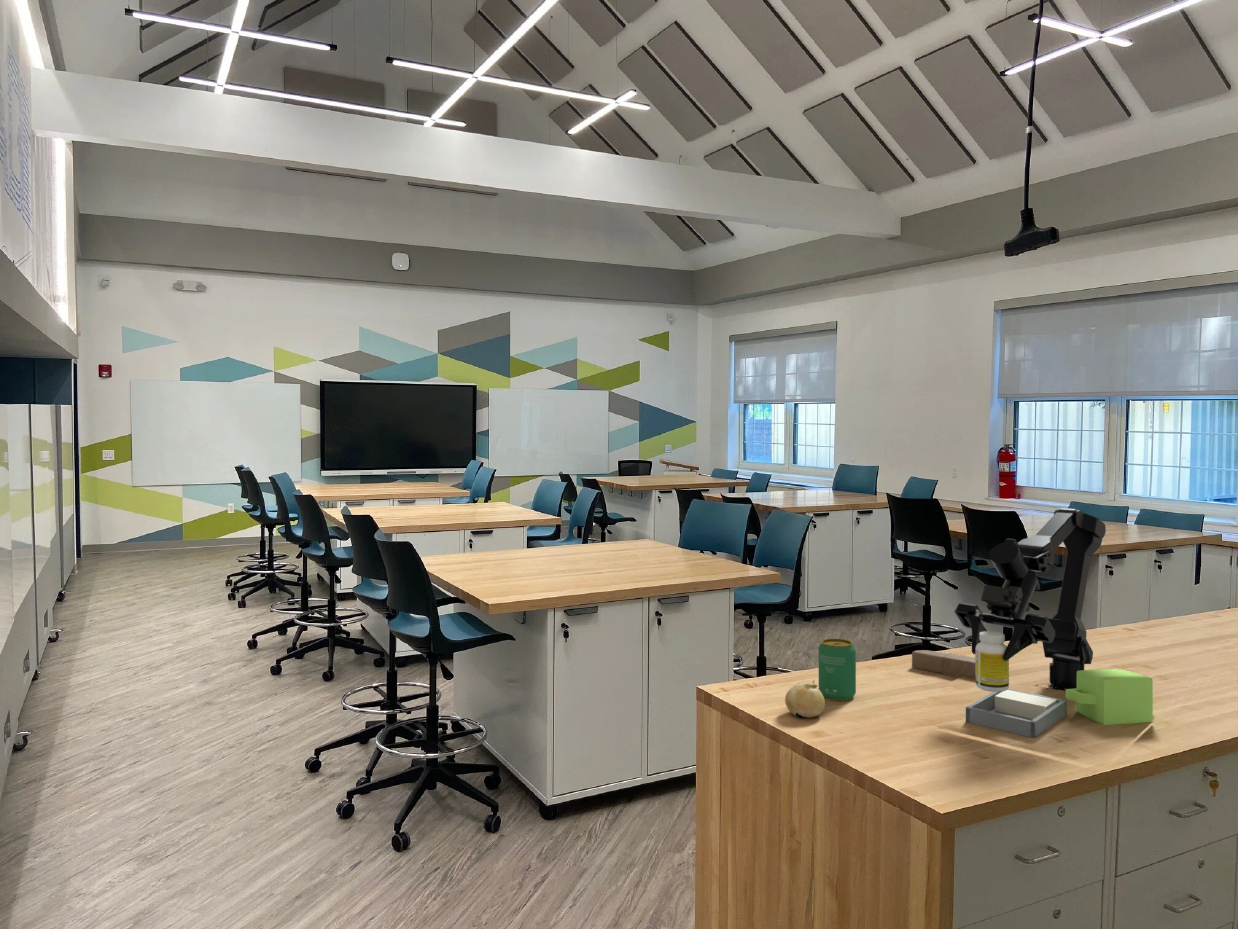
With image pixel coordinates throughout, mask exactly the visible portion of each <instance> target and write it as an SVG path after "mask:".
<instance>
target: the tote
mask: <svg viewBox="0 0 1238 929" xmlns="http://www.w3.org/2000/svg"><path fill="white" fill-rule="evenodd" d="M1008 690H1011V691H1016V692H1021V693H1026V694H1031V695H1036V696H1041V697H1046V698H1050V699H1055V700H1057V704H1055V705H1054V706H1052V707H1051V708H1049V709H1048V710H1046V711H1045V712H1043V713H1042V714H1040V715H1039V716H1038V717H1036V718H1035V719H1031V718H1027V717H1022V716H1018V715H1013V714H1009V713H1004V712H1000V711H995V696H996V695H998V694H999V693H1001V692H1003V691H1001V692H992V691H991V692H990V693H988V694H986V695H984V696H983V697H980V699H978V700H976V701H975V702H973V703H971V704H969V705H967V706H966V707H965V723H969V724H973V725H977V726H981V727H985V728H989V729H993V730H999V731H1002V732H1008V733H1010V734H1016V735H1019V736H1024V737H1029V738H1033V739H1035V738H1037V737H1038V736H1039V735H1040V734H1042V733H1044V732H1045V731H1046V730H1048V729H1049V728H1051V726H1053V725H1055V724H1056V723H1057V722H1058V721H1060V720H1061V719H1062V718H1064V717H1066V715H1067V711H1068V710H1067V705H1068V704H1067V700H1066V699H1061V698H1056V697H1051V696H1046V695H1042V694H1037V693H1032V692H1026V691H1023V690H1017V689H1012V688H1008Z"/></svg>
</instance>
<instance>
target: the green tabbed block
mask: <svg viewBox="0 0 1238 929" xmlns="http://www.w3.org/2000/svg"><path fill="white" fill-rule="evenodd" d="M1153 695H1154V693H1153V678H1152V677H1150V676H1147V675H1143V674H1140V673H1137V672H1134V671H1129V670H1125V669H1121V668H1111V669H1106V668H1105V669H1104V668H1103V669H1084V670H1081V671H1077V688H1075V689H1065V699H1068V700H1069V701H1073V702H1074V703H1076V712H1077V713H1079V714H1080V715H1082V716H1085V717H1086V718H1089V719H1090V720H1092V721H1095V722H1096V723H1099V724H1101V725H1103V726H1108V725H1109V726H1110V725H1111V726H1112V725H1126V724H1137V723H1138V724H1141V723H1150V724H1153V719H1154V718H1153V711H1154V709H1153V708H1154V707H1153V706H1154V704H1153V702H1154V700H1153V698H1154V697H1153Z"/></svg>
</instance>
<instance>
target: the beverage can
mask: <svg viewBox="0 0 1238 929" xmlns="http://www.w3.org/2000/svg"><path fill="white" fill-rule="evenodd" d="M820 642H821V643H820V644H819V646H818V689H819V690H820V691H821V693H822V695H823V697H824V699H825V698H826V699H825V700H828V699H830V700H829V701H837V702H846V701H847V702H848V701H850V700H853V699H854V698H855V695H856V694H857V685H856V684H857V648H856V647H855V645H854V642H853V641H852V640H849V639H845V638H825V639H822V640H821V641H820ZM853 697H854V698H853Z"/></svg>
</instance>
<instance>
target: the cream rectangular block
mask: <svg viewBox="0 0 1238 929" xmlns="http://www.w3.org/2000/svg"><path fill="white" fill-rule="evenodd" d="M1055 704H1057V700H1055V699H1050V698H1046V697H1041V696H1036V695H1031V694H1026V693H1021V692H1016V691H1011V690H1006V691H1003V692H1001V693H999V694H998V695H996V696H995V711H1000V712H1004V713H1009V714H1013V715H1018V716H1022V717H1027V718H1031V719H1035V718H1036V717H1038V716H1039V715H1040V714H1042V713H1043V712H1045V711H1046V710H1048V709H1049V708H1051V707H1052V706H1054V705H1055Z"/></svg>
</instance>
